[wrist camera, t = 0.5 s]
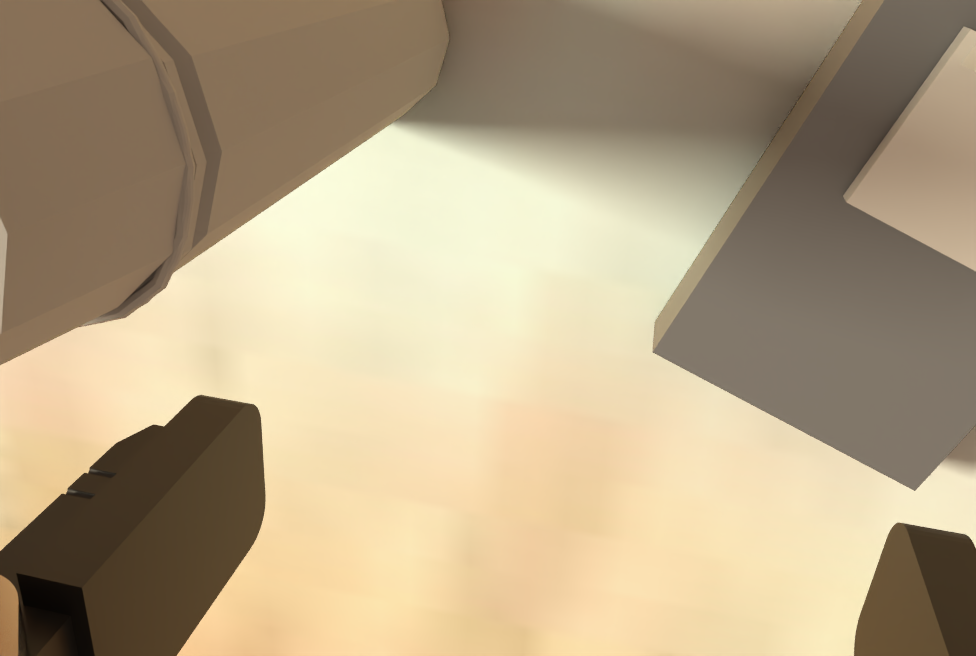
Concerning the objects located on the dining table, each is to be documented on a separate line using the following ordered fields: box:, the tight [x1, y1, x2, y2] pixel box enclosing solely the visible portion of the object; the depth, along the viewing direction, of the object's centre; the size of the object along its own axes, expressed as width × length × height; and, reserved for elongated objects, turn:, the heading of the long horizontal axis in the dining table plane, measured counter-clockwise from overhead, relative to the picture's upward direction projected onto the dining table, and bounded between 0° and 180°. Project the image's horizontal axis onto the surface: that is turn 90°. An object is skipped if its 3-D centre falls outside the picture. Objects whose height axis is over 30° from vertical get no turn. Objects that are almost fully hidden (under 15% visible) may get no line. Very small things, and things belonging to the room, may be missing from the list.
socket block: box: [653, 0, 976, 491], centre depth 32 cm, size 18×12×3 cm, turn 155°
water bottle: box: [0, 0, 450, 365], centre depth 24 cm, size 9×8×25 cm
